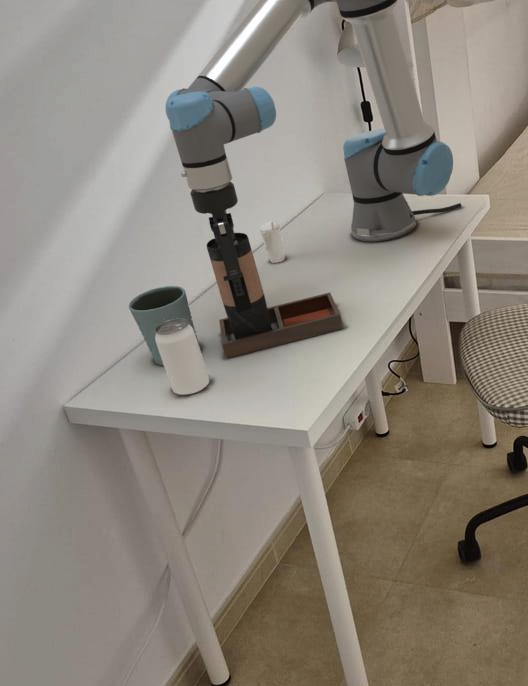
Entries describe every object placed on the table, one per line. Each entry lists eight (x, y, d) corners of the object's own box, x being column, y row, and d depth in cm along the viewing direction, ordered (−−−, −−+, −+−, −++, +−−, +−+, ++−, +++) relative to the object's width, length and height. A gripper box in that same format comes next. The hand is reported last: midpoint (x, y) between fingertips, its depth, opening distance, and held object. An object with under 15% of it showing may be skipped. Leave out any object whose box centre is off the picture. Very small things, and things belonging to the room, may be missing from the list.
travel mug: (265, 347, 162) (237, 247, 152) (228, 348, 164) (198, 249, 154) (280, 327, 168) (255, 231, 158) (244, 328, 170) (217, 233, 160)
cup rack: (223, 333, 170) (219, 319, 168) (333, 305, 174) (330, 292, 172) (226, 358, 160) (222, 344, 158) (343, 328, 164) (340, 314, 163)
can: (206, 393, 150) (186, 331, 144) (169, 398, 150) (147, 337, 144) (213, 374, 155) (194, 314, 149) (177, 379, 155) (157, 320, 149)
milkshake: (273, 267, 196) (262, 225, 191) (265, 260, 200) (254, 219, 196) (292, 260, 198) (281, 219, 193) (283, 254, 202) (273, 213, 197)
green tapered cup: (213, 350, 164) (194, 292, 158) (164, 374, 158) (144, 315, 152) (186, 336, 170) (168, 281, 164) (139, 359, 165) (118, 302, 159)
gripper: (187, 172, 161) (217, 277, 171) (191, 210, 140) (225, 327, 150) (228, 164, 162) (255, 268, 173) (237, 200, 141) (268, 317, 151)
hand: (241, 296), depth 161 cm, fingers open, 13 cm apart
